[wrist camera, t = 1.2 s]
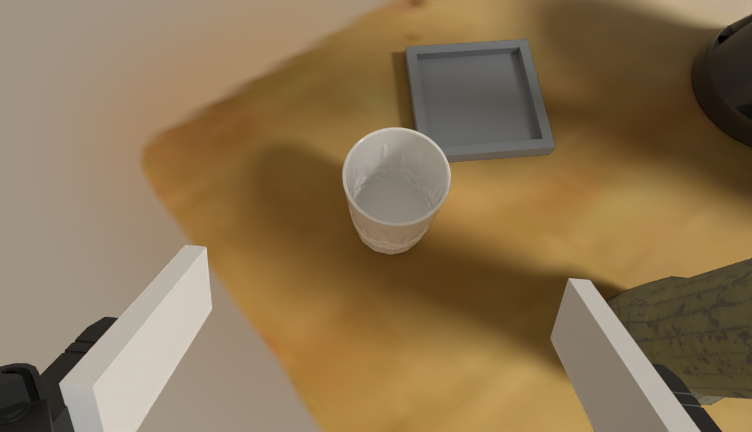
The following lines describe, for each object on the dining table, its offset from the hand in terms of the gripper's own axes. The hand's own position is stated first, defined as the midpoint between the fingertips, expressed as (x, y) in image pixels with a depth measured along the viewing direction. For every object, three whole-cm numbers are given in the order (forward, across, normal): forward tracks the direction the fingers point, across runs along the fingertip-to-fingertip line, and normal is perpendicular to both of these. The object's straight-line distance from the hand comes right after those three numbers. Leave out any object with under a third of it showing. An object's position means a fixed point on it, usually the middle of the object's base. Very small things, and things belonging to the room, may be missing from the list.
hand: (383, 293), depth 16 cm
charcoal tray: (+34, +8, +2) cm, 35 cm away
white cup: (+24, +1, -8) cm, 26 cm away
